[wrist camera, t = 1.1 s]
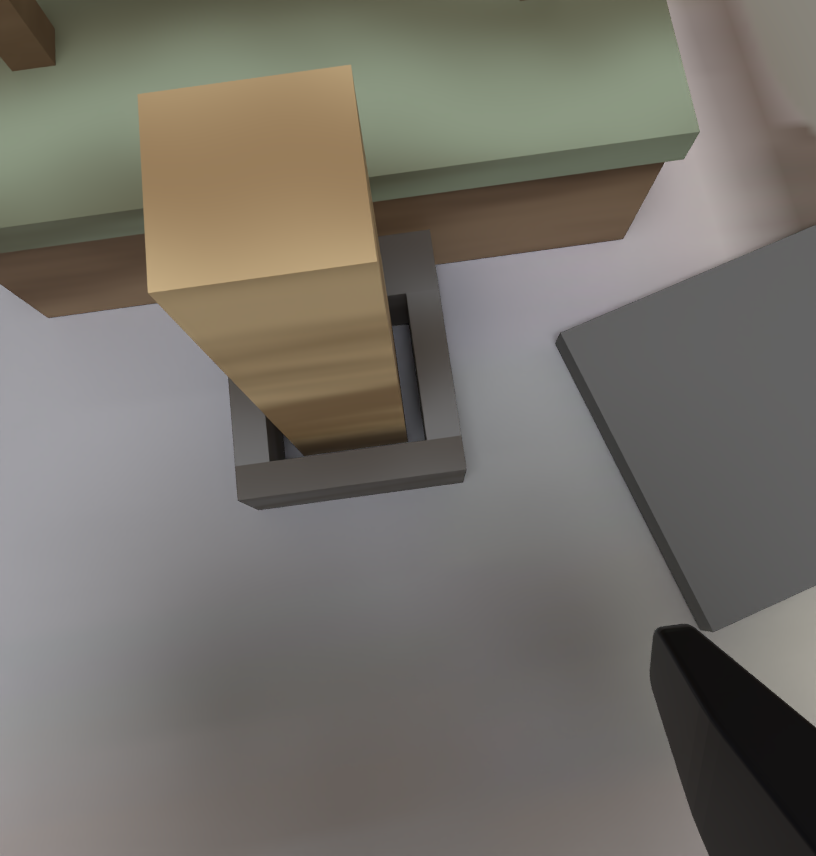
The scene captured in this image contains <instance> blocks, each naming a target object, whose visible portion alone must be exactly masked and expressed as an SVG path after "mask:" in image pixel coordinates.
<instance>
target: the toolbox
mask: <svg viewBox="0 0 816 856" xmlns="http://www.w3.org/2000/svg"><path fill="white" fill-rule="evenodd" d="M344 65H351V68H352V74H353V81H354V87H355V93H356V100H357V106H358V113H359V119H360V125H361V132H362V138H363V145H364V151H365V157H366V164H367V170H368V177H369V183H370V189H371V196H372V202H373V209H374V215H375V221H376V228H377V234H378V241H379V247H380V254H381V260H382V266H383V273H384V279H385V286H386V292H387V298H388V305H389V311H390V318H391V324H392V326H394V325H401V324H409V328H410V335H411V342H412V349H413V356H414V363H415V370H416V377H417V384H418V392H419V399H420V406H421V413H422V420H423V427H424V434H425V440H424V441H417V442H409V443H402V444H395V445H387V446H380V447H373V448H365V449H358V450H351V451H343V452H336V453H329V454H321V455H314V456H307V457H299V458H292V459H285V452H284V441H283V433H282V432H281V431H280V430H279V429H278V428H277V427H276V426H275V425H274V424H273V423H272V422H271V421H270V420H269V419H268V418H267V417H266V415H265V414H264V413H263V412H262V411H261V410H260V409H259V408H258V407H257V406H256V405H255V404H254V403H253V402H252V401H251V400H250V399H249V398H248V397H247V396H246V395H245V394H244V393H243V392H242V391H241V389H240V388H239V387H238V386H237V385H236V384H235V383H234V382H233V381H232V380H231V379H230V378H229V377H228V381H229V394H230V407H231V420H232V432H233V445H234V458H235V471H236V484H237V497H238V501H240V502H242V503H244V504H247V505H249V506H251V507H253V508H255V509H257V510H263V509H270V508H278V507H285V506H292V505H300V504H307V503H314V502H322V501H329V500H336V499H344V498H351V497H358V496H366V495H373V494H380V493H388V492H395V491H402V490H410V489H417V488H424V487H432V486H439V485H447V484H454V483H461V482H463V480H464V476H465V473H466V463H465V456H464V450H463V443H462V437H461V430H460V424H459V417H458V411H457V404H456V398H455V391H454V385H453V378H452V371H451V365H450V358H449V352H448V345H447V339H446V332H445V326H444V319H443V313H442V306H441V300H440V293H439V286H438V280H437V273H436V267H435V265H436V264H444V263H451V262H458V261H465V260H473V259H480V258H487V257H495V256H502V255H509V254H516V253H524V252H531V251H538V250H546V249H553V248H560V247H567V246H575V245H582V244H589V243H597V242H604V241H611V240H618V239H623V238H624V236H625V234H626V233H627V231H628V229H629V227H630V225H631V223H632V221H633V220H634V218H635V216H636V214H637V212H638V210H639V209H640V207H641V205H642V203H643V201H644V199H645V197H646V196H647V194H648V192H649V190H650V188H651V186H652V185H653V183H654V181H655V179H656V177H657V175H658V173H659V172H660V170H661V168H662V166H663V164H664V162H667V161H674V160H682V159H684V158H685V156H686V155H687V153H688V151H689V149H690V148H691V146H692V144H693V143H694V141H695V139H696V137H697V136H698V134H699V132H700V130H699V126H698V122H697V118H696V114H695V111H694V107H693V103H692V99H691V95H690V91H689V87H688V83H687V79H686V76H685V72H684V68H683V64H682V60H681V56H680V52H679V48H678V44H677V41H676V37H675V33H674V29H673V25H672V21H671V17H670V13H669V9H668V6H667V2H666V0H0V284H1V285H2V286H4V287H5V288H7V289H8V290H9V291H11V292H12V293H14V294H15V295H16V296H18V297H19V298H21V299H22V300H24V301H25V302H26V303H28V304H29V305H31V306H32V307H33V308H35V309H36V310H38V311H39V312H40V313H42V314H43V315H45V316H46V317H48V318H50V317H58V316H65V315H72V314H79V313H87V312H94V311H101V310H109V309H116V308H123V307H130V306H138V305H145V304H152V303H157V302H156V301H155V300H154V299H153V298H152V297H151V296H150V295H149V294H148V286H147V267H146V248H145V229H144V210H143V191H142V171H141V152H140V133H139V114H138V95H137V94H142V93H149V92H157V91H164V90H171V89H178V88H185V87H193V86H200V85H207V84H214V83H221V82H229V81H236V80H243V79H250V78H257V77H265V76H272V75H279V74H286V73H293V72H301V71H308V70H315V69H322V68H330V67H337V66H344Z"/></svg>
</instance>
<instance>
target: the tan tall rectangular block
mask: <svg viewBox="0 0 816 856" xmlns="http://www.w3.org/2000/svg"><path fill="white" fill-rule="evenodd" d="M137 95H138V114H139V133H140V152H141V171H142V191H143V210H144V229H145V248H146V267H147V286H148V294H149V295H150V296H151V297H152V298H153V299H154V300H155V301H156V302H157V303H158V304H159V305H160V306H161V307H162V308H163V309H164V310H165V311H166V312H167V314H168V315H169V316H170V317H171V318H172V319H173V320H174V321H175V322H176V323H177V324H178V325H179V326H180V327H181V328H182V329H183V330H184V331H185V332H186V333H187V334H188V335H189V336H190V337H191V338H192V340H193V341H194V342H195V343H196V344H197V345H198V346H199V347H200V348H201V349H202V350H203V351H204V352H205V353H206V354H207V355H208V356H209V357H210V358H211V359H212V360H213V361H214V362H215V363H216V364H217V366H218V367H219V368H220V369H221V370H222V371H223V372H224V373H225V374H226V375H227V376H228V377H229V378H230V379H231V380H232V381H233V382H234V383H235V384H236V385H237V386H238V387H239V388H240V389H241V391H242V392H243V393H244V394H245V395H246V396H247V397H248V398H249V399H250V400H251V401H252V402H253V403H254V404H255V405H256V406H257V407H258V408H259V409H260V410H261V411H262V412H263V413H264V414H265V415H266V417H267V418H268V419H269V420H270V421H271V422H272V423H273V424H274V425H275V426H276V427H277V428H278V429H279V430H280V431H281V432H282V433H283V434H284V435H285V436H286V437H287V438H288V439H289V440H290V441H291V443H292V444H293V445H294V446H295V447H296V448H297V449H298V450H299V451H300V452H301V453H302V454H303V455H304V456H308V455H315V454H322V453H330V452H337V451H344V450H351V449H359V448H366V447H373V446H381V445H388V444H395V443H403V442H408V439H407V432H406V425H405V417H404V410H403V402H402V395H401V387H400V380H399V373H398V365H397V358H396V350H395V343H394V337H393V330H392V324H391V318H390V311H389V305H388V298H387V292H386V286H385V279H384V273H383V266H382V260H381V254H380V247H379V241H378V234H377V228H376V221H375V215H374V209H373V202H372V196H371V189H370V183H369V177H368V170H367V164H366V157H365V151H364V145H363V138H362V132H361V125H360V119H359V113H358V106H357V100H356V93H355V87H354V81H353V74H352V68H351V65H344V66H337V67H330V68H322V69H315V70H308V71H301V72H293V73H286V74H279V75H272V76H265V77H257V78H250V79H243V80H236V81H229V82H221V83H214V84H207V85H200V86H193V87H185V88H178V89H171V90H164V91H157V92H149V93H142V94H137Z"/></svg>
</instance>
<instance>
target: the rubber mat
mask: <svg viewBox="0 0 816 856" xmlns="http://www.w3.org/2000/svg"><path fill="white" fill-rule="evenodd" d="M555 344H556V346H557V348H558V350H559V352H560V354H561V356H562V358H563V360H564V362H565V364H566V366H567V368H568V370H569V371H570V373H571V375H572V377H573V379H574V381H575V383H576V385H577V387H578V389H579V391H580V393H581V395H582V397H583V399H584V401H585V403H586V405H587V407H588V409H589V411H590V413H591V415H592V417H593V419H594V421H595V423H596V425H597V427H598V429H599V431H600V433H601V435H602V437H603V439H604V441H605V442H606V444H607V446H608V448H609V450H610V452H611V454H612V456H613V458H614V460H615V462H616V464H617V466H618V468H619V470H620V472H621V474H622V476H623V478H624V480H625V482H626V484H627V486H628V488H629V490H630V492H631V494H632V496H633V498H634V500H635V502H636V504H637V506H638V508H639V510H640V512H641V513H642V515H643V517H644V519H645V521H646V523H647V525H648V527H649V529H650V531H651V533H652V535H653V537H654V539H655V541H656V543H657V545H658V547H659V549H660V551H661V553H662V555H663V557H664V559H665V561H666V563H667V565H668V567H669V569H670V571H671V573H672V575H673V577H674V579H675V581H676V582H677V584H678V586H679V588H680V590H681V592H682V594H683V596H684V598H685V600H686V602H687V604H688V606H689V608H690V610H691V612H692V614H693V616H694V618H695V620H696V622H697V624H698V626H699V628H700V630H703V631H710V632H715V631H717V630H719V629H721V628H723V627H726V626H728V625H730V624H732V623H734V622H736V621H739V620H741V619H743V618H745V617H747V616H750V615H752V614H754V613H756V612H758V611H761V610H763V609H765V608H767V607H769V606H771V605H774V604H776V603H778V602H780V601H782V600H785V599H787V598H789V597H791V596H793V595H796V594H798V593H800V592H802V591H804V590H807V589H809V588H811V587H813V586H815V585H816V225H814V226H812V227H810V228H807V229H805V230H802V231H800V232H798V233H795V234H793V235H791V236H788V237H786V238H784V239H781V240H779V241H777V242H774V243H772V244H769V245H767V246H765V247H762V248H760V249H758V250H755V251H753V252H751V253H748V254H746V255H743V256H741V257H739V258H736V259H734V260H732V261H729V262H727V263H725V264H722V265H720V266H717V267H715V268H713V269H710V270H708V271H706V272H703V273H701V274H699V275H696V276H694V277H692V278H689V279H687V280H684V281H682V282H680V283H677V284H675V285H673V286H670V287H668V288H666V289H663V290H661V291H658V292H656V293H654V294H651V295H649V296H647V297H644V298H642V299H640V300H637V301H635V302H632V303H630V304H628V305H625V306H623V307H621V308H618V309H616V310H614V311H611V312H609V313H607V314H604V315H602V316H599V317H597V318H595V319H592V320H590V321H588V322H585V323H583V324H581V325H578V326H576V327H573V328H571V329H569V330H566V331H564V332H562V333H560V335H559V337H558V339H557V341H556V343H555Z"/></svg>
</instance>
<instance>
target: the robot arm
mask: <svg viewBox="0 0 816 856" xmlns="http://www.w3.org/2000/svg"><path fill="white" fill-rule="evenodd" d="M650 681H651V686H652V690H653V694H654V697H655V700H656V703H657V707H658V710H659V713H660V716H661V719H662V722H663V725H664V729H665V732H666V735H667V738H668V741H669V744H670V748H671V751H672V754H673V757H674V760H675V763H676V767H677V770H678V773H679V776H680V779H681V782H682V786H683V789H684V792H685V795H686V798H687V801H688V804H689V807H690V810H691V813H692V816H693V818H694V821H695V823H696V826H697V828H698V831H699V833H700V836H701V838H702V840H703V843H704V845H705V847H706V849H707V852H708V854H709V856H816V727H815V726H813V725H812V724H811V723H810V722H808V721H807V720H806V719H805V718H804V717H802V716H801V715H800V714H799V713H798V712H796V711H795V710H794V709H793V708H792V707H790V706H789V705H788V704H787V703H785V702H784V701H783V700H782V699H781V698H779V697H778V696H777V695H776V694H775V693H773V692H772V691H771V690H770V689H768V688H767V687H766V686H765V685H764V684H762V683H761V682H760V681H759V680H758V679H756V678H755V677H754V676H753V675H752V674H750V673H749V672H748V671H747V670H745V669H744V668H743V667H742V666H741V665H739V664H738V663H737V662H736V661H735V660H733V659H732V658H731V657H730V656H728V655H727V654H726V653H725V652H724V651H722V650H721V649H720V648H719V647H718V646H716V645H715V644H714V643H713V642H712V641H710V640H709V639H708V638H707V637H705V636H704V635H703V634H702V633H701V632H699V631H698V630H697V629H696V628H694V627H693V626H691V625H688V624H678V625H671V626H663V627H659V628H657V629H656V630H655V632H654V634H653V642H652V652H651V662H650Z"/></svg>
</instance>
